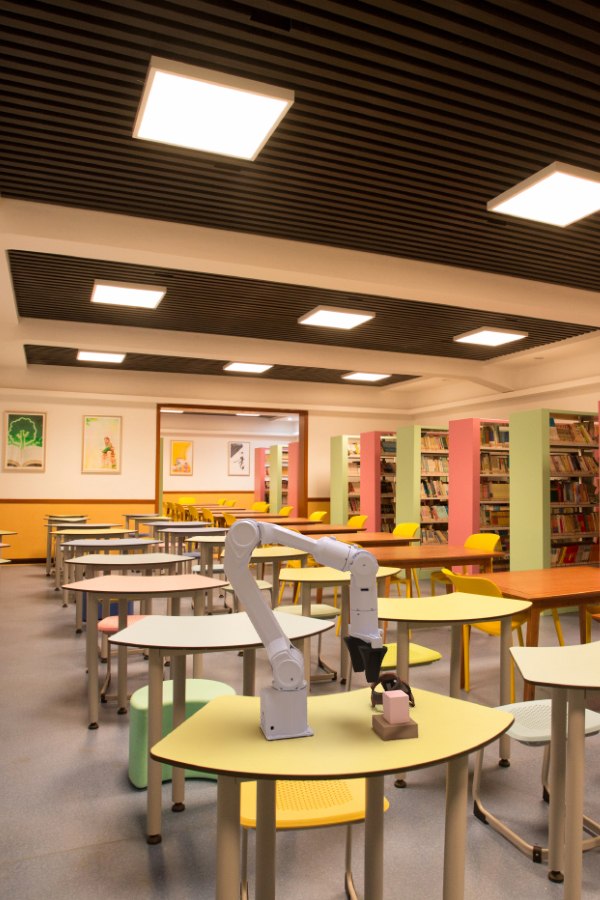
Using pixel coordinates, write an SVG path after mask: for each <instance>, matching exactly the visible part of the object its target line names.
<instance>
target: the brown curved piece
mask: <svg viewBox="0 0 600 900" xmlns="http://www.w3.org/2000/svg"><path fill="white" fill-rule="evenodd" d="M379 684H380V685H381V688H382V689H383V691H382V692H379V691H376V690H375V689H376V688H377V686H379ZM370 689H371V693H370V701H371V705H372V707H373V708H376V705H377V706H378V705H380V706H381V705H382V706H383V692H385V691H395V690H402V691H403V692H404V693H406V694H407V695H408V696H409V702H411V704H412V706H415V707H416V703H415V696H414V694H413V693H412V690H411V689H412V688H411V685H410V684H409V683H408V682H407V681H406V679H404V678H402V677H400V676H399V674H397V673H396V672H393V671H387V672H383V673H381V674H379V679H378V682H374V683H370Z"/></svg>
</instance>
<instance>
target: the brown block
mask: <svg viewBox="0 0 600 900" xmlns="http://www.w3.org/2000/svg"><path fill="white" fill-rule="evenodd" d="M371 722H372V723H371V724H372V725H371V726H372V729H373V730H374V732H375V733H376V734H377V735H378V736H379V737H380V738H381V740H383V742H389V741H390V742H391V741H399V740H410V739H418V738H419V724H418V723H417V721H415V720H414V719H413V718H412V717H410V722H407V723H397V724H390V723H389V722H388V721H387V720H386V719H385V718H383V713H382V714H381V713H380V714H372V715H371Z"/></svg>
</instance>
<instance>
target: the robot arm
mask: <svg viewBox="0 0 600 900" xmlns="http://www.w3.org/2000/svg"><path fill="white" fill-rule="evenodd" d="M260 542H261V543H260ZM259 543H260V544H261V546H264V545H269V544H280V545H283V546H285V547H289V548H292V549H295V550H299V551H301V552H304V553H307V554H310V555H312V557H313V559H314V561H315V562H316V563H317V564H319V565H322V566H325V567H327V568H331V569H333V570H337V571H339V572H343V573H346V572H349V573H350V574H349V575H350V576H349V577H350V585H349V587H348V588H349V621H350V623H349V624H347V629H348V630H347V633H348V635H349V636H344V637H343V638H342V639H343V642H344V643H345V646H346V648H347V650H348V653H349V656H350V662H351V666H352V670H353V672H354V673H364V675H365V680H366V682H367V683H368V684H369V683H370V684H371V683H374V682H378V679H379V675H381V674H380V673H381V672H380V671H381V667H382V663H383V661H384V659H385V656H386V654H387V652H388V646H387V645H384V644H383V637H382V636H381V635H382V634H384V633H385V631H384V629H382V628H379V616H378V615H379V608H378V586H377V581H378V580H377V574H378V572H379V569H380V565H379V564H378V563H379V562H378V559H377V558H376V556H375V555H374V554H373V553H372V552H370V551H368V550H366V549H365V548H362V547H361V548H359V545H358V544H354V543H353V544H352V545H351V544H349V543H345V542H342V541H339V540H337V537H336V536H334V535H330V536H329V537H328V536H326V535H325V536H322V537H320V538H319V539H315V538H313V537H309V536H307V535H304V534H302V533H299V532H297V531H294V530H291V529H289V528H287V527H283V526H281V525H278V524H276V523H271V522H266V521H260V520H259V521H257V520H255V519H253V518H243V519H238V520H236V521H234V522H233V523H232V524H231V525H230V527H229V529H228V531H227V533H226V536H225V538H224V554H223V572H224V574H225V577H226V578H227V580H228V582H229V584H230V586H231V587H232V590H233V591H234V593H235V595H236V597H237V599H238V601H239V602H240V604H241V606H242V608H243V610H244V612H245V613H246V616H247V617H248V618H249V621H250V623H251V624H252V626H253V628H254V630H255V632H256V634H257V635H258V637H259V640H260V641H261V643H262V645H263V646H264V648H265V652H266V655H267V658H268V660H269V663H270V665H271V669H272V678H273V680H272V681H271V685H269V686H267V687H265V686H264V687H262V688H261V689H260V693H259V695H260V697H259V699H260V700H259V701H260V702H259V703H260V704H259V705H260V714H259V715H260V717H259V718H260V723H259V727H260V729H261V731H262V732H263V735H264V737H265V739H266V740H267V741H272V740H280V739H287V738H291V739H292V738H297V737H298V738H299V737H307V736H314V735H315V734H314V731H313V729H312V728H311V727H310V725H309V724H308V681H307V680H305V673H306V671H305V656H304V655H303V652H302V651H301V650H300V649H299V648H297V647H296V646H294V645H293V644H292V642H291V640H290V638H288V636H287V634H286V633H285V632H284V630H283V628H282V627H281V625H280V623H279V621H278V619H277V618H276V616H275V614H274V612H273V611H272V609H271V607H270V605H269V603H268V601H267V599H266V598H265V595H264V594H263V592H262V590H261V588H260V587H259V585H258V583H257V581H256V579H255V577H254V575H253V574H252V572H251V570H250V568H249V565H250V562H251V558H252V555H253V552H254V550H255V549H256V548H257V546H258V545H259Z"/></svg>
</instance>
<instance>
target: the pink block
mask: <svg viewBox="0 0 600 900" xmlns="http://www.w3.org/2000/svg"><path fill="white" fill-rule="evenodd" d="M382 692H383V705H382V714H383V718H385V719H386V720H387V721H388V722H389V723H390V724H397V723H407V722H410V718H411V717H410V701H409V696H408V695H407V694H406V693H404V692H403V691H402V690H395V691H382Z"/></svg>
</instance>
